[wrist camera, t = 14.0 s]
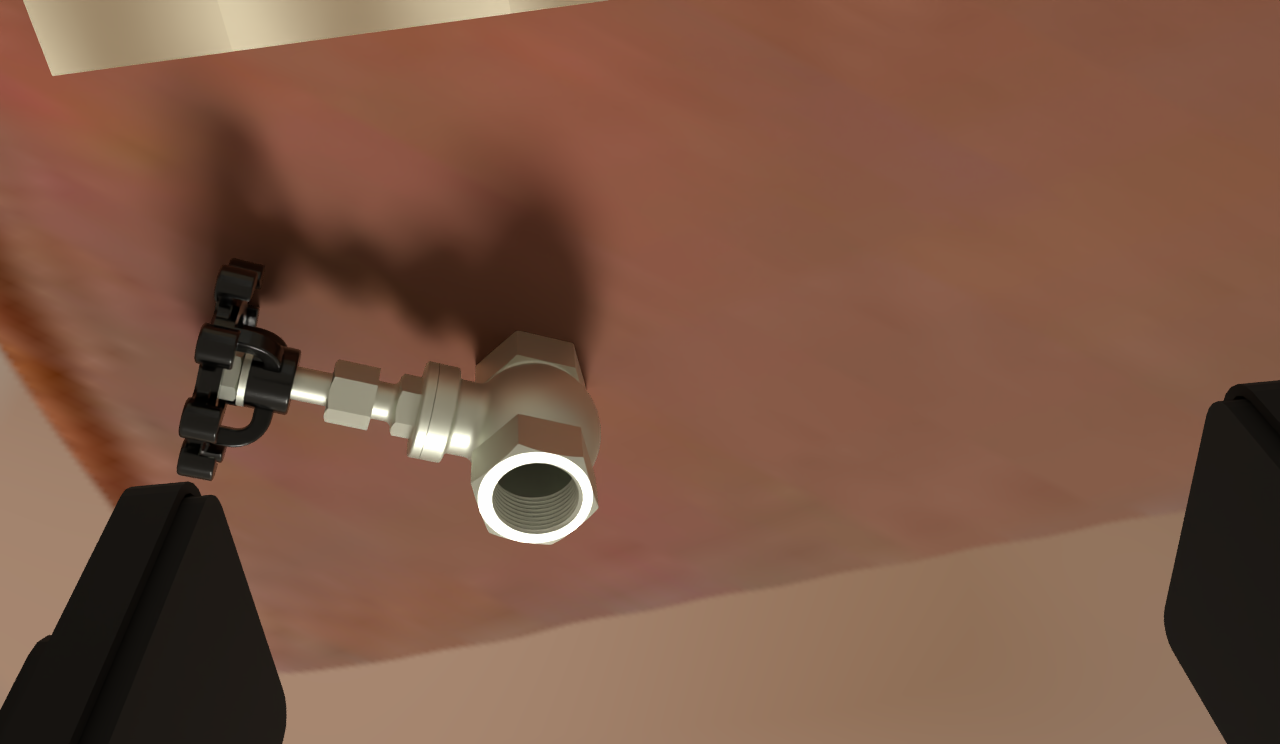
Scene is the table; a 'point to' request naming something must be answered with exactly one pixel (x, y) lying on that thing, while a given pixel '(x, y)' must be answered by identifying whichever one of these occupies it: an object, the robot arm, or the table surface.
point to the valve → (412, 412)
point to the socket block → (228, 25)
